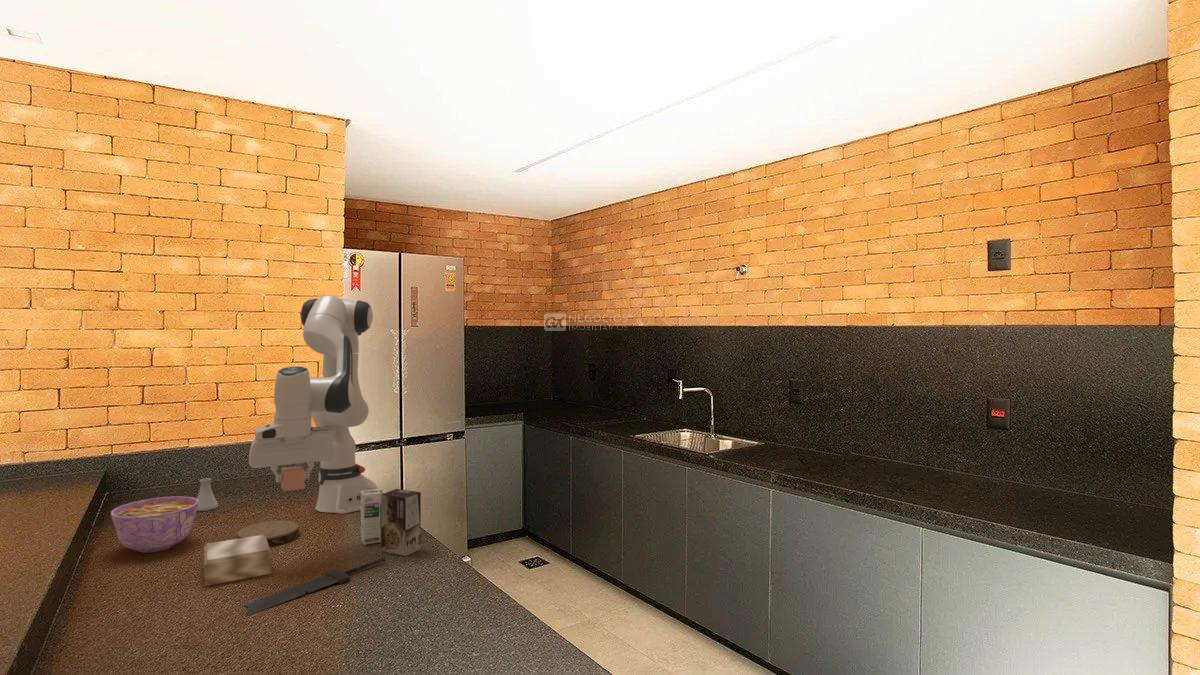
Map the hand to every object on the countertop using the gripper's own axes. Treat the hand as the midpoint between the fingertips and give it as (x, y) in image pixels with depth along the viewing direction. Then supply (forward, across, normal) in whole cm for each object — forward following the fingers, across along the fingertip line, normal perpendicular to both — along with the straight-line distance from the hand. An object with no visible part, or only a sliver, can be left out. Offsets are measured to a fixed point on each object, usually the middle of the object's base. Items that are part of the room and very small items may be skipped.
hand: (292, 480), depth 163 cm
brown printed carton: (+21, -26, +8) cm, 35 cm away
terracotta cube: (+2, 0, 0) cm, 2 cm away
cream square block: (+21, +13, 0) cm, 25 cm away
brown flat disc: (+22, +4, -22) cm, 31 cm away
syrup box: (+21, -21, -4) cm, 30 cm away
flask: (+22, +18, -65) cm, 71 cm away
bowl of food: (+22, +30, -30) cm, 48 cm away
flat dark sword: (+22, -3, +21) cm, 30 cm away
